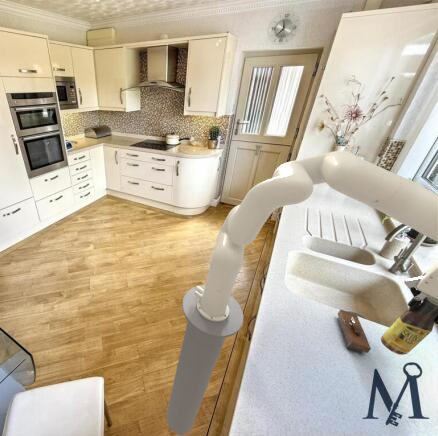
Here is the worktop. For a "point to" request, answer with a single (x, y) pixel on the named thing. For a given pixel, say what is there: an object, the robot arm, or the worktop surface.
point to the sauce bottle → (411, 327)
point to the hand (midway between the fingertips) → (423, 314)
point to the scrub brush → (352, 332)
